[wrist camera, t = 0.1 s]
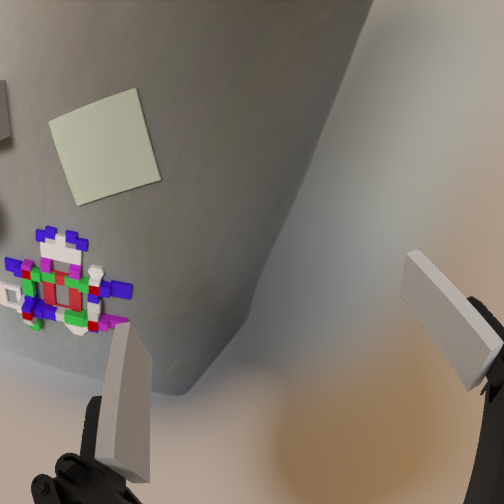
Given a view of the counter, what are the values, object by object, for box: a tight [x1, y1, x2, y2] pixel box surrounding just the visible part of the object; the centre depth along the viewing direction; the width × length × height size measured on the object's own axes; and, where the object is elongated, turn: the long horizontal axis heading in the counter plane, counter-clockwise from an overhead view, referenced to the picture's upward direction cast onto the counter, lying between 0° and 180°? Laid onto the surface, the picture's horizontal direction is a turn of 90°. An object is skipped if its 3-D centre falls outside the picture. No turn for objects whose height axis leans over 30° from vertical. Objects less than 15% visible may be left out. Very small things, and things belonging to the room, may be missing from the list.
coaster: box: [49, 87, 161, 206], centre depth 34 cm, size 12×12×1 cm
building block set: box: [0, 226, 132, 336], centre depth 41 cm, size 25×20×4 cm
